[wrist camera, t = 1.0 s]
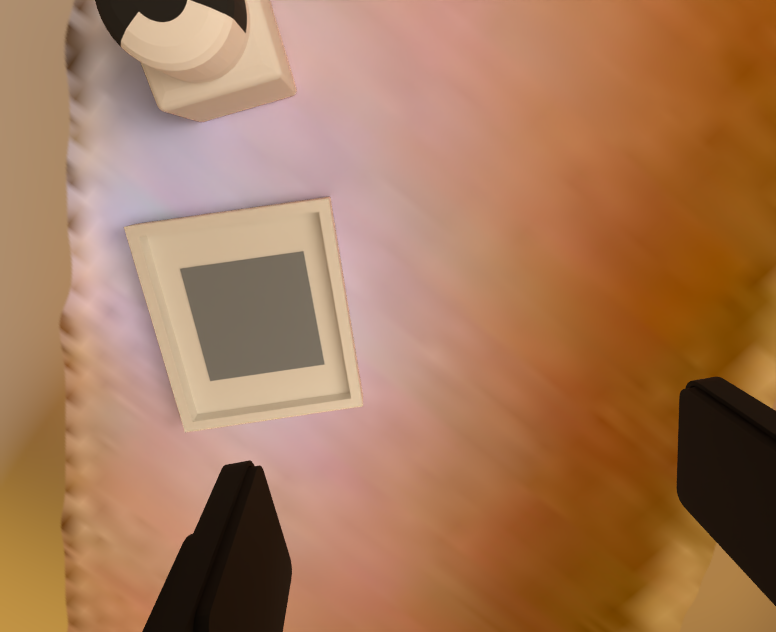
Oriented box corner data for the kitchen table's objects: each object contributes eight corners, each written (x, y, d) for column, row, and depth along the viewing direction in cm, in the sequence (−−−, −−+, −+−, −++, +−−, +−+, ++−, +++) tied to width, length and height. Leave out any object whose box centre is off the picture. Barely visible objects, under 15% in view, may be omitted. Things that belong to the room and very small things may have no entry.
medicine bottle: (157, 8, 31) (37, -86, 19) (263, -23, 31) (206, -137, 19) (199, 123, 33) (114, 100, 21) (298, 95, 33) (266, 56, 21)
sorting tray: (138, 223, 35) (123, 227, 32) (330, 196, 35) (328, 198, 33) (194, 418, 39) (184, 432, 37) (362, 393, 40) (362, 406, 38)
